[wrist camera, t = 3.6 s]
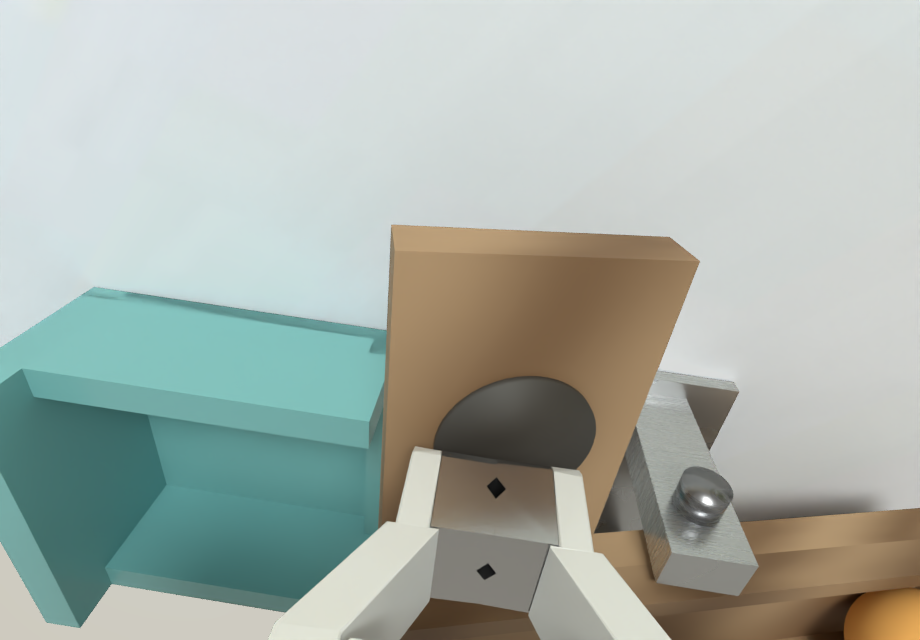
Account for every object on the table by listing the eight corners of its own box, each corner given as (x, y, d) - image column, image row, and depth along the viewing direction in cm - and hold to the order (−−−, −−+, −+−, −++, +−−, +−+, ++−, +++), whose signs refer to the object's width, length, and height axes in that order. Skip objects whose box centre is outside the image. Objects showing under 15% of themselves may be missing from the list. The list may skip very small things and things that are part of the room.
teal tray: (401, 332, 17) (352, 467, 12) (389, 523, 23) (351, 673, 17) (93, 287, 18) (-80, 399, 13) (152, 485, 23) (46, 622, 18)
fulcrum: (736, 377, 17) (841, 555, 11) (642, 566, 22) (683, 749, 17) (584, 354, 17) (616, 520, 12) (528, 547, 22) (531, 723, 17)
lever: (1177, 259, 12) (1379, 325, 10) (859, 605, 19) (927, 690, 17) (391, 224, 8) (403, 315, 6) (371, 664, 16) (374, 781, 13)
